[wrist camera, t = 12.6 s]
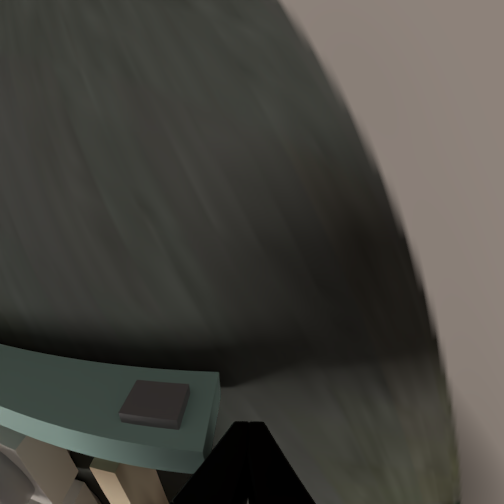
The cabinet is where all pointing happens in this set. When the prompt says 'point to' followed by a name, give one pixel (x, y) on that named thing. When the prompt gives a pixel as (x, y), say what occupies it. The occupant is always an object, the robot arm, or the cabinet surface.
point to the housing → (127, 483)
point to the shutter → (111, 408)
